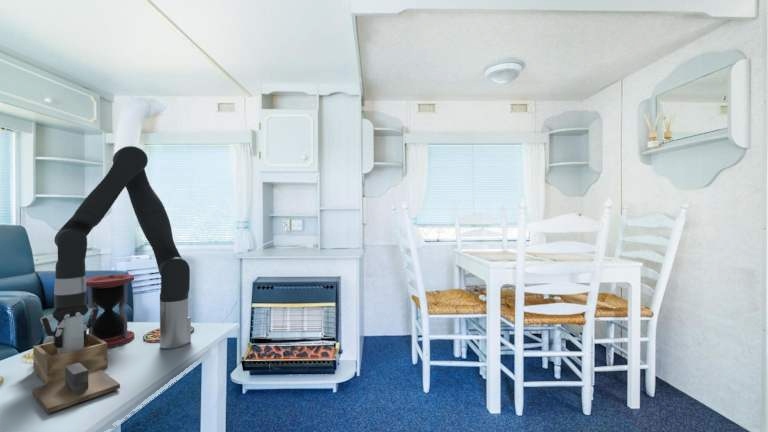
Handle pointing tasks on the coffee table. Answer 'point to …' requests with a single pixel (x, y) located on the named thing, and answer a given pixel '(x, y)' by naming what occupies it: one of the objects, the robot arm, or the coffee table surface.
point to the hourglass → (110, 308)
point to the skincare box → (72, 334)
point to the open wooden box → (68, 359)
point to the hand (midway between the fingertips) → (70, 344)
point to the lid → (74, 388)
